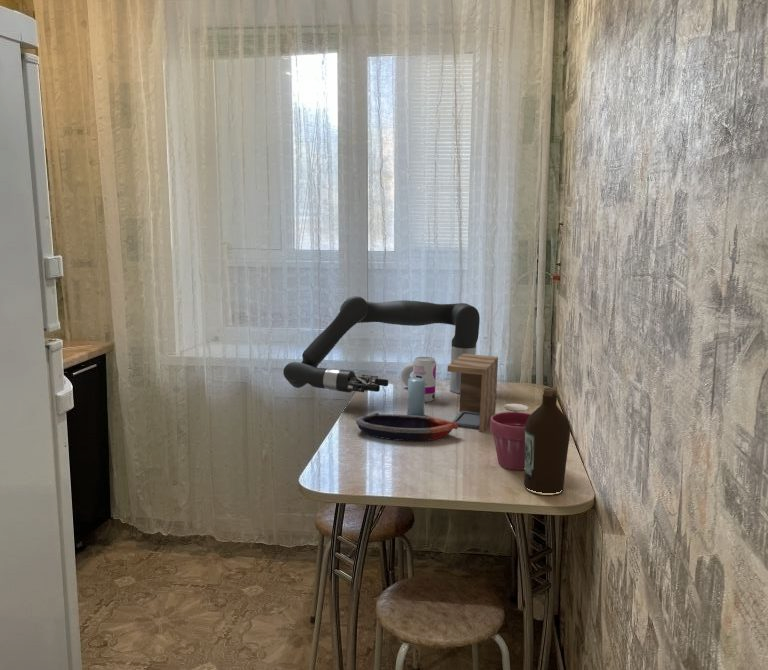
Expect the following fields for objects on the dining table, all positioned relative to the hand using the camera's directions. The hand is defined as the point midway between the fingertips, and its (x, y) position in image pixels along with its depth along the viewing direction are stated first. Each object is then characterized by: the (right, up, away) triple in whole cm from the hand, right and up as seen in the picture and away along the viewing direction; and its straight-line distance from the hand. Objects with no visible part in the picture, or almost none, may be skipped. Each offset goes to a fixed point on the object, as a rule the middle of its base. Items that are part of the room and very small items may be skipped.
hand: (383, 385), depth 230 cm
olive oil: (+39, -21, -62) cm, 76 cm away
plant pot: (+35, -18, -46) cm, 61 cm away
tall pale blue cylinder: (+11, -10, -2) cm, 14 cm away
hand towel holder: (+44, -12, -10) cm, 46 cm away
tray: (+28, -11, -8) cm, 31 cm away
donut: (+11, -4, +33) cm, 35 cm away
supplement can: (+14, -6, +18) cm, 24 cm away
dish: (+7, -14, -23) cm, 27 cm away
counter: (+28, -11, -7) cm, 31 cm away
